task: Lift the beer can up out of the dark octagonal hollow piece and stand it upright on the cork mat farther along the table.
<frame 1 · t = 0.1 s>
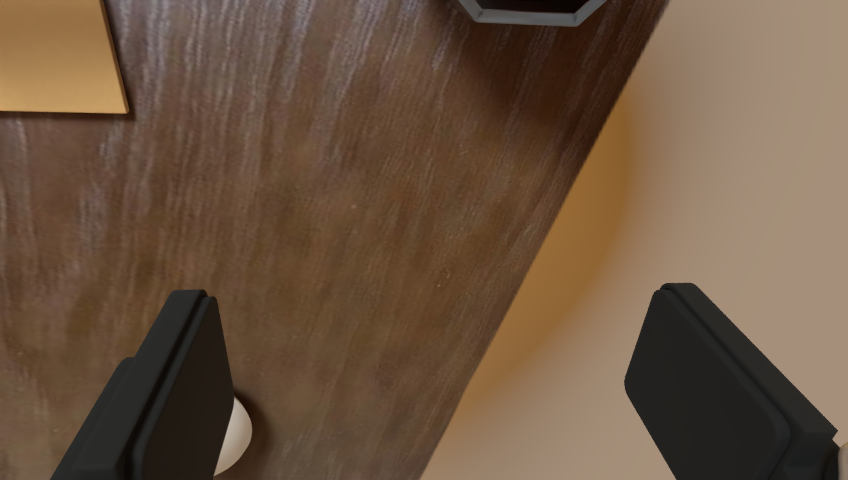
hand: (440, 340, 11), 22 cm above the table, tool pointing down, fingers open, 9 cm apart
flower in vase: (187, 403, 41), on the table
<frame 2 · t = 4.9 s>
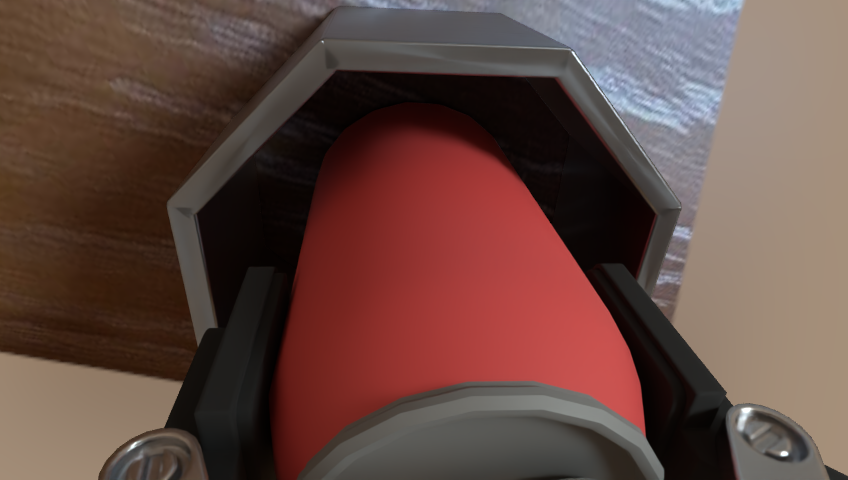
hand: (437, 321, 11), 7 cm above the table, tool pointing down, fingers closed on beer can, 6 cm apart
beer can: (412, 189, 18), resting in dark octagonal hollow piece, touching gripper
dark octagonal hollow piece: (413, 191, 18), on the table
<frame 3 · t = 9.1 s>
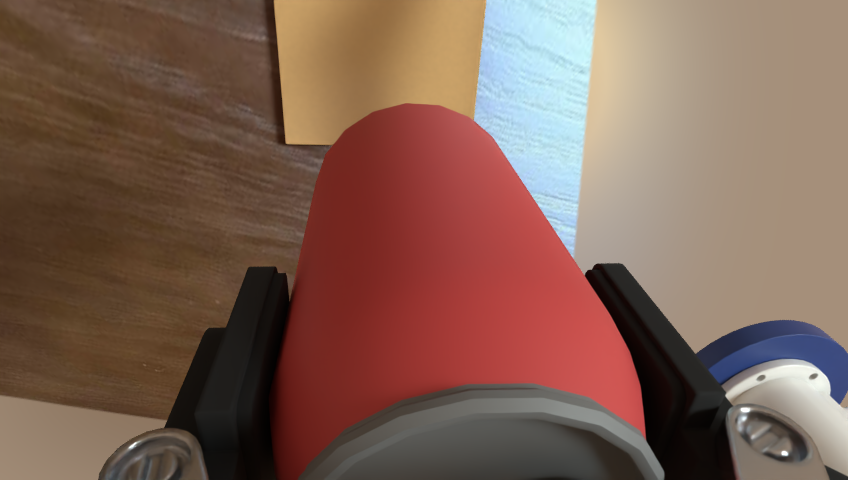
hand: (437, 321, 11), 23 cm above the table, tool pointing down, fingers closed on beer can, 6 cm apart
cork mat: (381, 29, 30), on the table
beer can: (412, 190, 18), point 16 cm above the table, touching gripper
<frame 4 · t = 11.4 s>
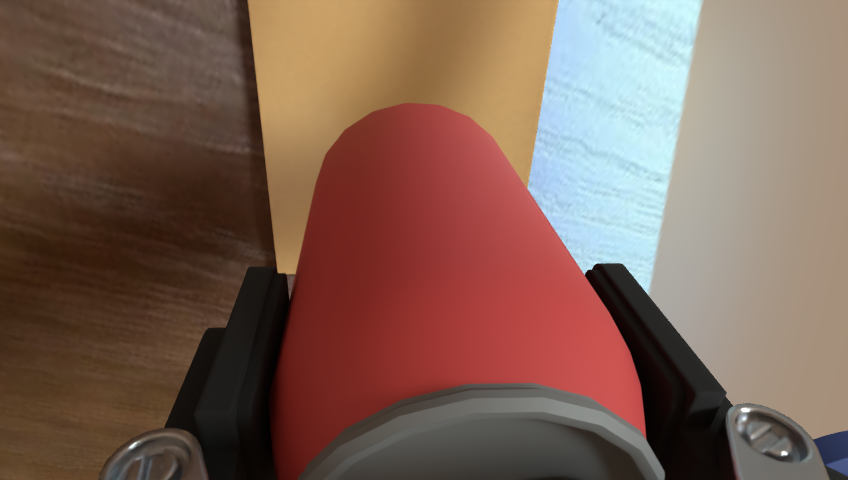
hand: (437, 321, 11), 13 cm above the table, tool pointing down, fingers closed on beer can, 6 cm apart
cork mat: (402, 136, 23), on the table
beer can: (412, 190, 18), point 6 cm above the table, touching gripper
when the fingers open (8 cm above the table, at t = 13.3 s): beer can stays where it is, resting on cork mat.
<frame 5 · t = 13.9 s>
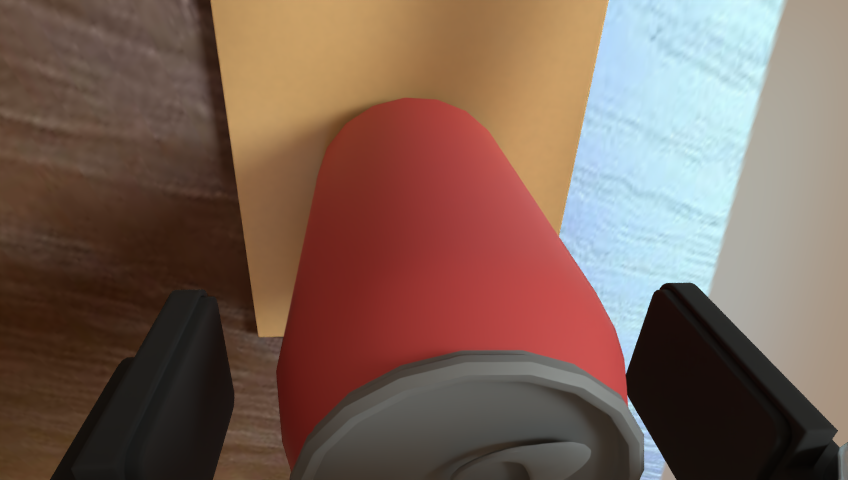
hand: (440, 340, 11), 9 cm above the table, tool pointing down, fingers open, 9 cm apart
cork mat: (408, 176, 19), on the table
beer can: (411, 182, 18), resting on cork mat
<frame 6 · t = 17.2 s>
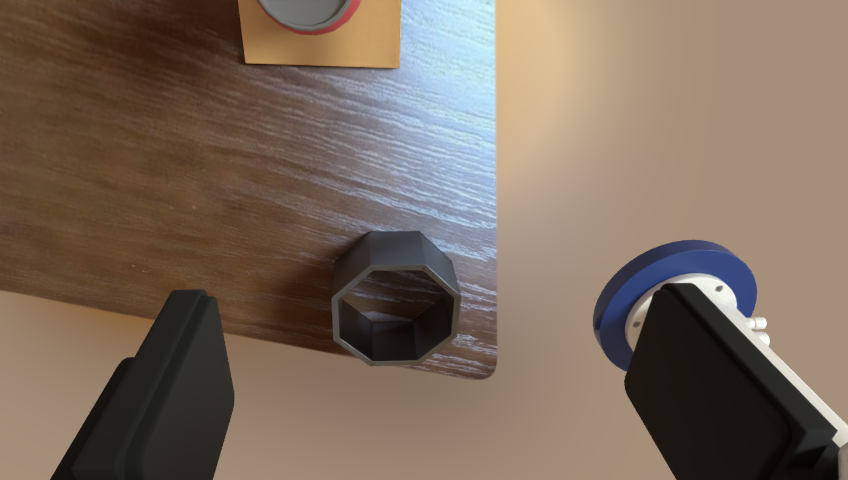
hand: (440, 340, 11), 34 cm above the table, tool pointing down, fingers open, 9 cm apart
dark octagonal hollow piece: (393, 281, 52), on the table
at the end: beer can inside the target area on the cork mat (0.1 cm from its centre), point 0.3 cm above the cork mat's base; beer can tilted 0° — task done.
